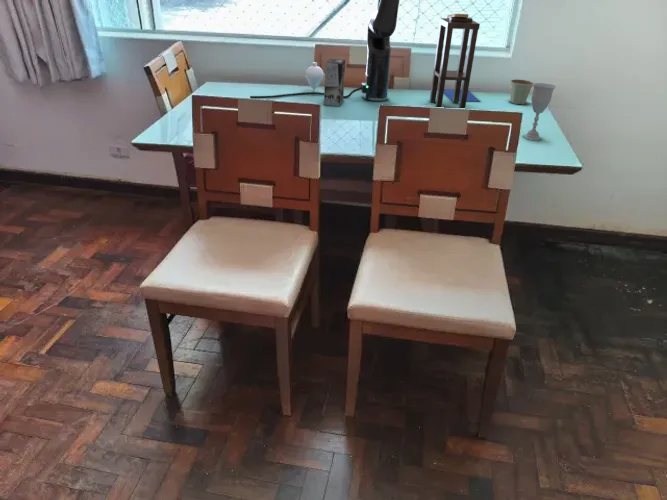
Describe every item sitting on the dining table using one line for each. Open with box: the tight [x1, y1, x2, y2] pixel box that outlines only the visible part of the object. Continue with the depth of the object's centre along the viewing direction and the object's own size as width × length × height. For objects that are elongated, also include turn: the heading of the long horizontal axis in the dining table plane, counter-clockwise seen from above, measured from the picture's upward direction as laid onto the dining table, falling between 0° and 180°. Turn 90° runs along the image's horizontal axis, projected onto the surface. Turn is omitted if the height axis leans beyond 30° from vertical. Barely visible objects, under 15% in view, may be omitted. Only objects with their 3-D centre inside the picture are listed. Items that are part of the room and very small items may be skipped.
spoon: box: [446, 13, 469, 18], centre depth 214 cm, size 18×6×5 cm, turn 5°
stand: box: [429, 17, 481, 109], centre depth 217 cm, size 12×12×33 cm
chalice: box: [524, 82, 556, 141], centre depth 189 cm, size 7×7×18 cm
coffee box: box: [323, 58, 346, 107], centre depth 217 cm, size 9×6×16 cm
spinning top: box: [304, 61, 325, 92], centre depth 231 cm, size 8×8×12 cm
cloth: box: [443, 89, 480, 103], centre depth 240 cm, size 12×18×1 cm, turn 5°
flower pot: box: [509, 78, 535, 105], centre depth 232 cm, size 9×9×9 cm
